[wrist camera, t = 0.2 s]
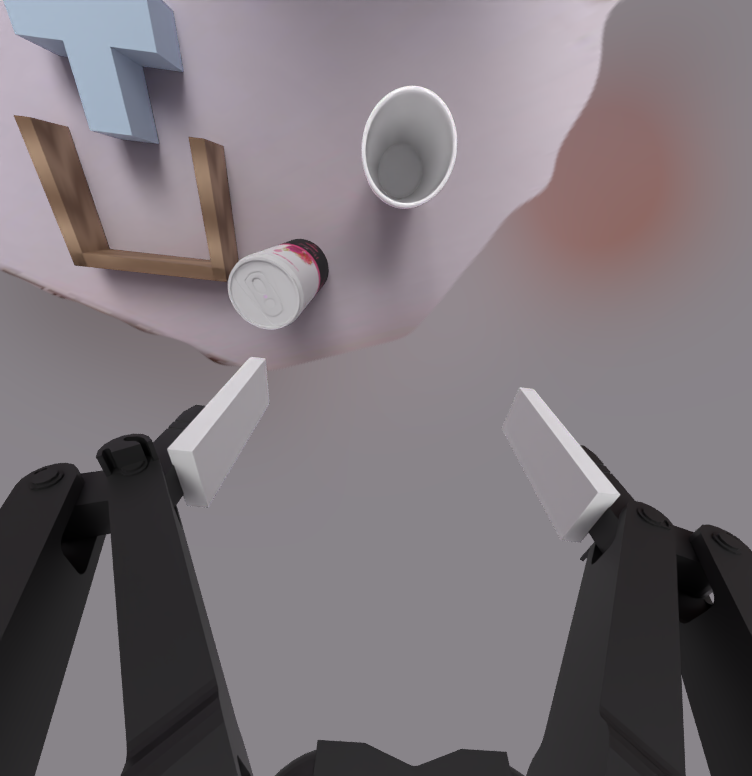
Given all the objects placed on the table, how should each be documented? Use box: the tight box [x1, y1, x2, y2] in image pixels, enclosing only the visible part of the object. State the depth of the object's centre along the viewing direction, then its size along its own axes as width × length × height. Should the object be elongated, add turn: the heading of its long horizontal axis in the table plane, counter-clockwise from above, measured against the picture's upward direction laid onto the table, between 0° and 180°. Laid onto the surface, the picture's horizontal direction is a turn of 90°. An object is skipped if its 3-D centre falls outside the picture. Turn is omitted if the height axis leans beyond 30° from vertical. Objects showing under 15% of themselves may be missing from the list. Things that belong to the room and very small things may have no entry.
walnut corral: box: [14, 115, 238, 282], centre depth 34 cm, size 14×18×4 cm
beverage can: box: [228, 239, 328, 330], centre depth 32 cm, size 7×7×15 cm
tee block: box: [3, 0, 183, 144], centre depth 28 cm, size 10×12×4 cm
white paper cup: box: [361, 86, 457, 209], centre depth 27 cm, size 7×7×15 cm
